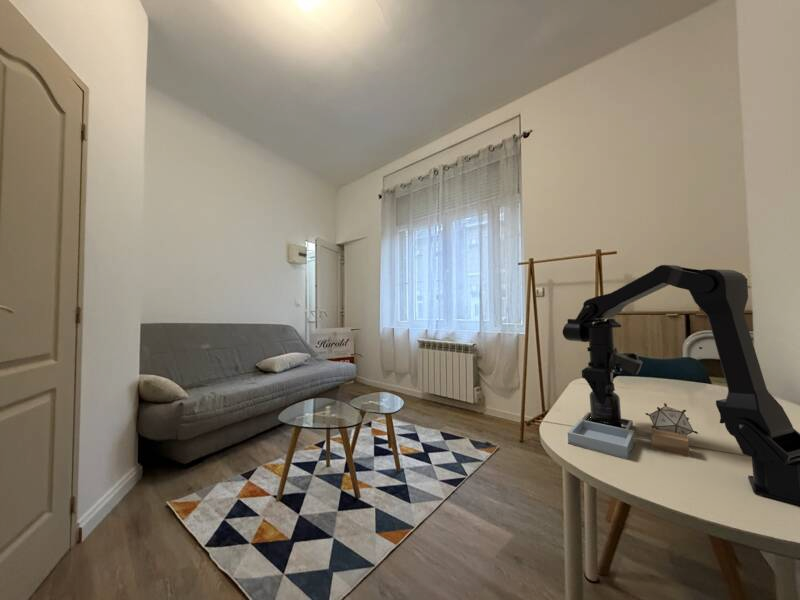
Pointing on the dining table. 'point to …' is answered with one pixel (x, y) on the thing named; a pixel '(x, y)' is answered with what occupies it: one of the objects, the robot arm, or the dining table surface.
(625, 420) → the grey square frame
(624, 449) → the parts tray
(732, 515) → the dining table surface
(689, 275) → the robot arm
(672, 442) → the block
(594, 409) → the supplement bottle
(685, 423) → the game die
